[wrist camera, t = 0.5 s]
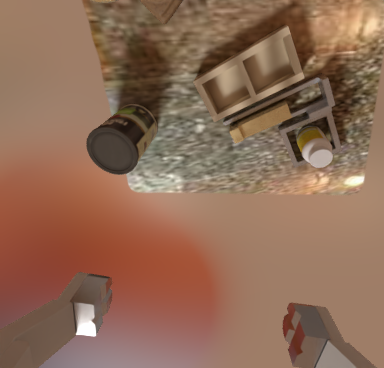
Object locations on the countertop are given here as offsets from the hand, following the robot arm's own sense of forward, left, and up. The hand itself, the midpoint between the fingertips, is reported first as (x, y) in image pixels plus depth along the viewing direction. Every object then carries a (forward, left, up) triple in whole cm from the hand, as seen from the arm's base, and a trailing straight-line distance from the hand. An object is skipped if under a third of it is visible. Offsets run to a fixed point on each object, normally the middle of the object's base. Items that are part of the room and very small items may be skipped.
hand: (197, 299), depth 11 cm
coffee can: (+24, -1, -47) cm, 52 cm away
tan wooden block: (-2, +10, -47) cm, 48 cm away
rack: (-3, +1, -47) cm, 47 cm away
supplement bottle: (-10, +19, -47) cm, 51 cm away
